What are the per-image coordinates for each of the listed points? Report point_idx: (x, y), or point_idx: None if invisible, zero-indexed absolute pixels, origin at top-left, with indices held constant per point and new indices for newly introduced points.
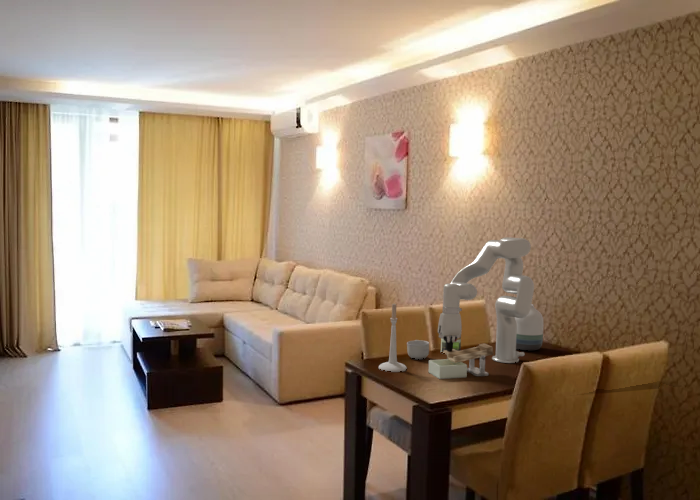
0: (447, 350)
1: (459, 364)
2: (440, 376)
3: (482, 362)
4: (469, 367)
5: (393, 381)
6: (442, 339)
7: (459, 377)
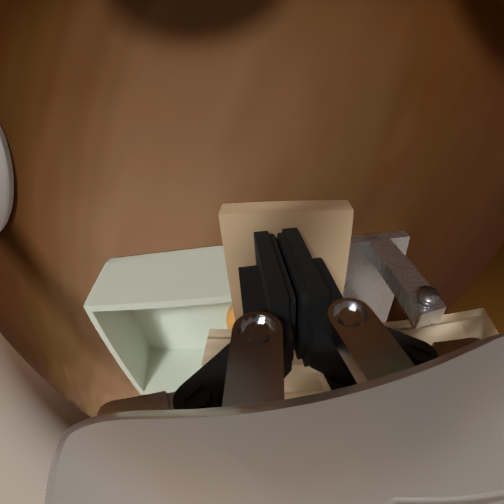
0: (256, 263)
1: None
2: (151, 356)
3: None
4: (368, 247)
5: (13, 336)
6: None
7: None
